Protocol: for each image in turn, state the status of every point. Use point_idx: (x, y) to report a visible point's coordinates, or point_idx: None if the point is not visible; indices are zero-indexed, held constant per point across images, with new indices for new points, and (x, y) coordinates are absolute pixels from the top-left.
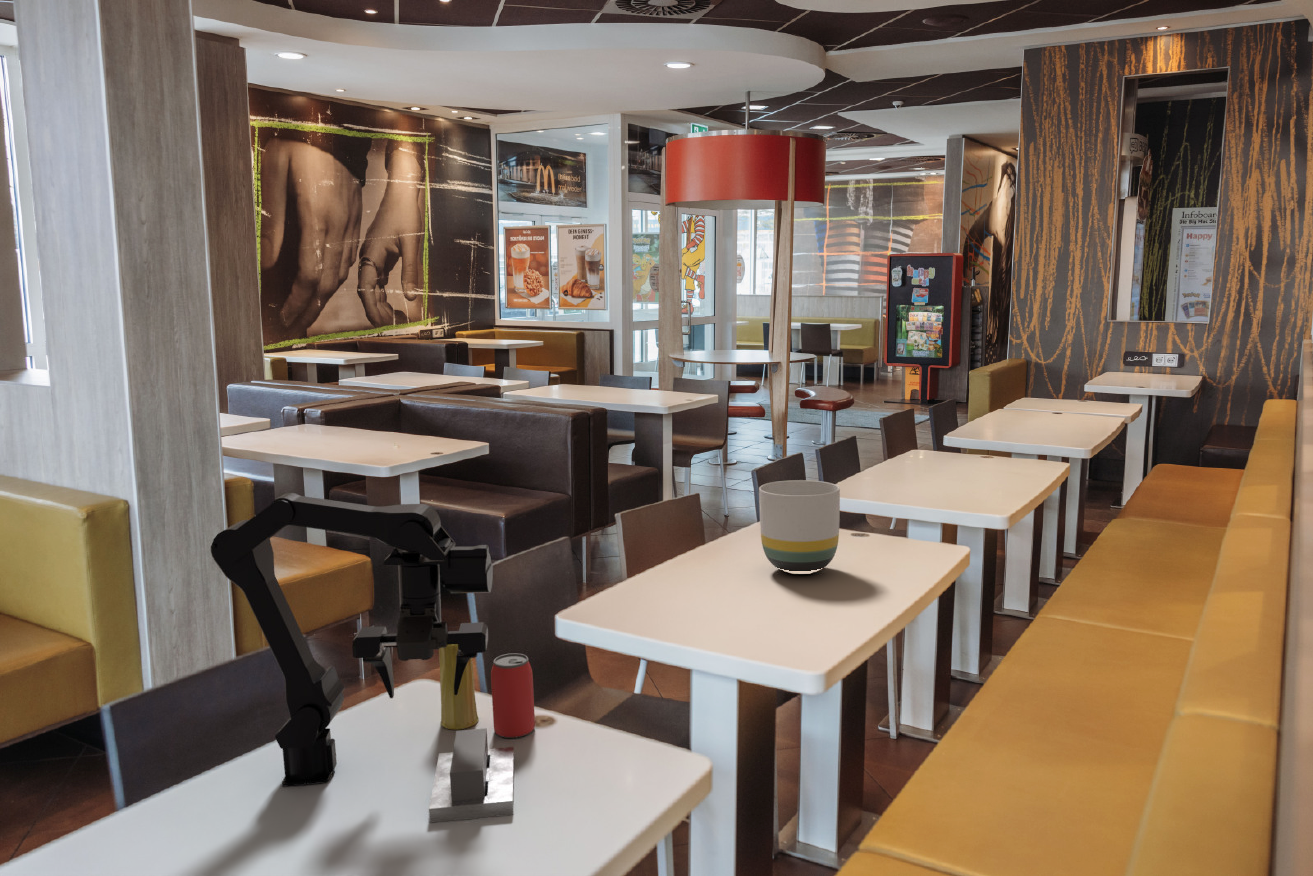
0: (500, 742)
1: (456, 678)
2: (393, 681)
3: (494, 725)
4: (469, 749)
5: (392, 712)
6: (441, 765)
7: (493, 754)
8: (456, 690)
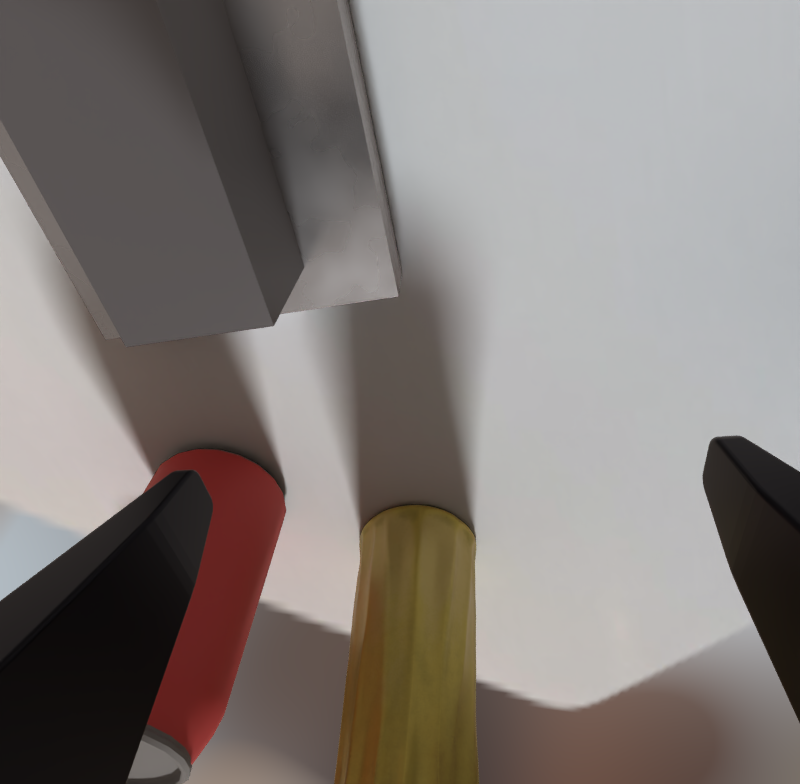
0: (238, 428)
1: (66, 581)
2: (750, 604)
3: (267, 495)
4: (73, 70)
5: (641, 600)
6: (351, 179)
7: None
8: (153, 494)
